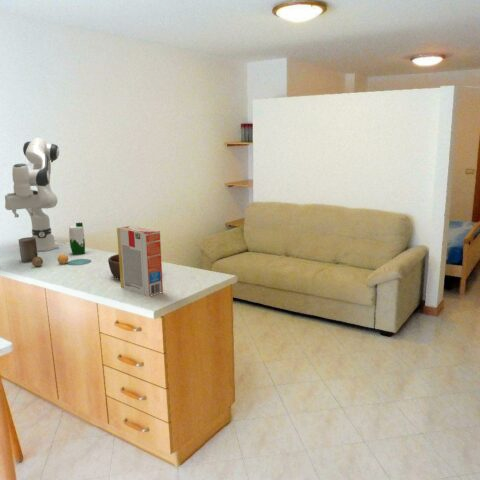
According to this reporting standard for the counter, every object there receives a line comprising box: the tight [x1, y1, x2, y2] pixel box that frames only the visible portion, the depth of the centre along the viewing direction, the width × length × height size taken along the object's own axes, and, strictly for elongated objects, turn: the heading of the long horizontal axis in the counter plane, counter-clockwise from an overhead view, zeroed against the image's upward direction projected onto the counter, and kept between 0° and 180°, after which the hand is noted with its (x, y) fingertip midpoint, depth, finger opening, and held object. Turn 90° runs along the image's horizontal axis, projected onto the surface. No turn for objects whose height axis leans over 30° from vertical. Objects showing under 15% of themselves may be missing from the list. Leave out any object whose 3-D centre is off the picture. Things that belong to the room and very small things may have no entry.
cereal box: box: [116, 225, 164, 297], centre depth 220 cm, size 23×8×30 cm, turn 48°
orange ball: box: [57, 253, 69, 265], centre depth 272 cm, size 6×6×6 cm
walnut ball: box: [31, 255, 44, 268], centre depth 267 cm, size 6×6×6 cm
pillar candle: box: [18, 236, 39, 263], centre depth 281 cm, size 10×10×15 cm
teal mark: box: [66, 258, 92, 266], centre depth 276 cm, size 14×14×1 cm
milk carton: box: [68, 222, 86, 256], centre depth 296 cm, size 9×9×20 cm
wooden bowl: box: [107, 253, 120, 280], centre depth 247 cm, size 25×25×10 cm
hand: (24, 216), depth 264 cm, fingers open, 8 cm apart
